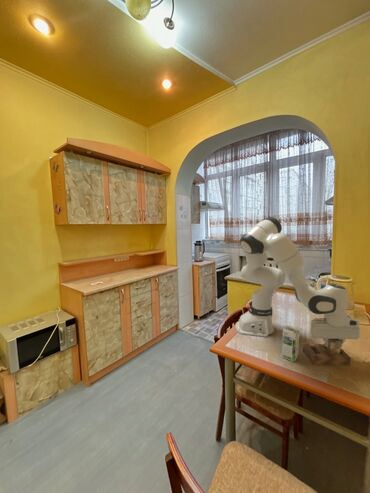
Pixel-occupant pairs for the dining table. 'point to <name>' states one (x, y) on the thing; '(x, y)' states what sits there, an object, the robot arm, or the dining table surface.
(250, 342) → the dining table surface
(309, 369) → the dining table surface
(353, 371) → the dining table surface
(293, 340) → the syrup box
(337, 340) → the oak peg
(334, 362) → the socket block
